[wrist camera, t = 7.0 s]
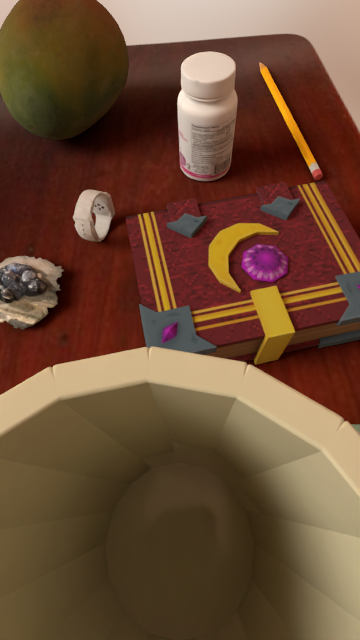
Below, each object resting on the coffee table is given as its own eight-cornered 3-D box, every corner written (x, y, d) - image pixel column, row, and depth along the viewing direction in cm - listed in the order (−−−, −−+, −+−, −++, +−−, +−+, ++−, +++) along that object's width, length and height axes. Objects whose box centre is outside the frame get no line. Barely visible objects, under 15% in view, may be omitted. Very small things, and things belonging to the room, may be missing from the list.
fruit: (138, 86, 38) (122, -37, 30) (130, 161, 33) (106, 37, 24) (36, 89, 39) (-10, -31, 30) (10, 164, 33) (-56, 42, 24)
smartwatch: (102, 253, 28) (89, 217, 24) (78, 247, 28) (62, 211, 25) (118, 221, 29) (109, 182, 26) (95, 216, 30) (82, 177, 26)
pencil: (313, 181, 31) (315, 174, 30) (255, 66, 39) (256, 59, 39) (321, 179, 31) (324, 173, 30) (262, 65, 39) (263, 58, 39)
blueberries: (58, 332, 25) (48, 320, 23) (-51, 334, 25) (-69, 322, 23) (71, 257, 28) (63, 241, 26) (-26, 259, 28) (-40, 244, 26)
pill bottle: (179, 149, 33) (176, 49, 26) (228, 148, 33) (239, 46, 26) (179, 184, 31) (175, 85, 24) (231, 182, 31) (244, 83, 23)
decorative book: (132, 253, 28) (120, 206, 23) (320, 217, 29) (344, 166, 24) (156, 387, 22) (148, 360, 18) (385, 337, 24) (430, 300, 19)
